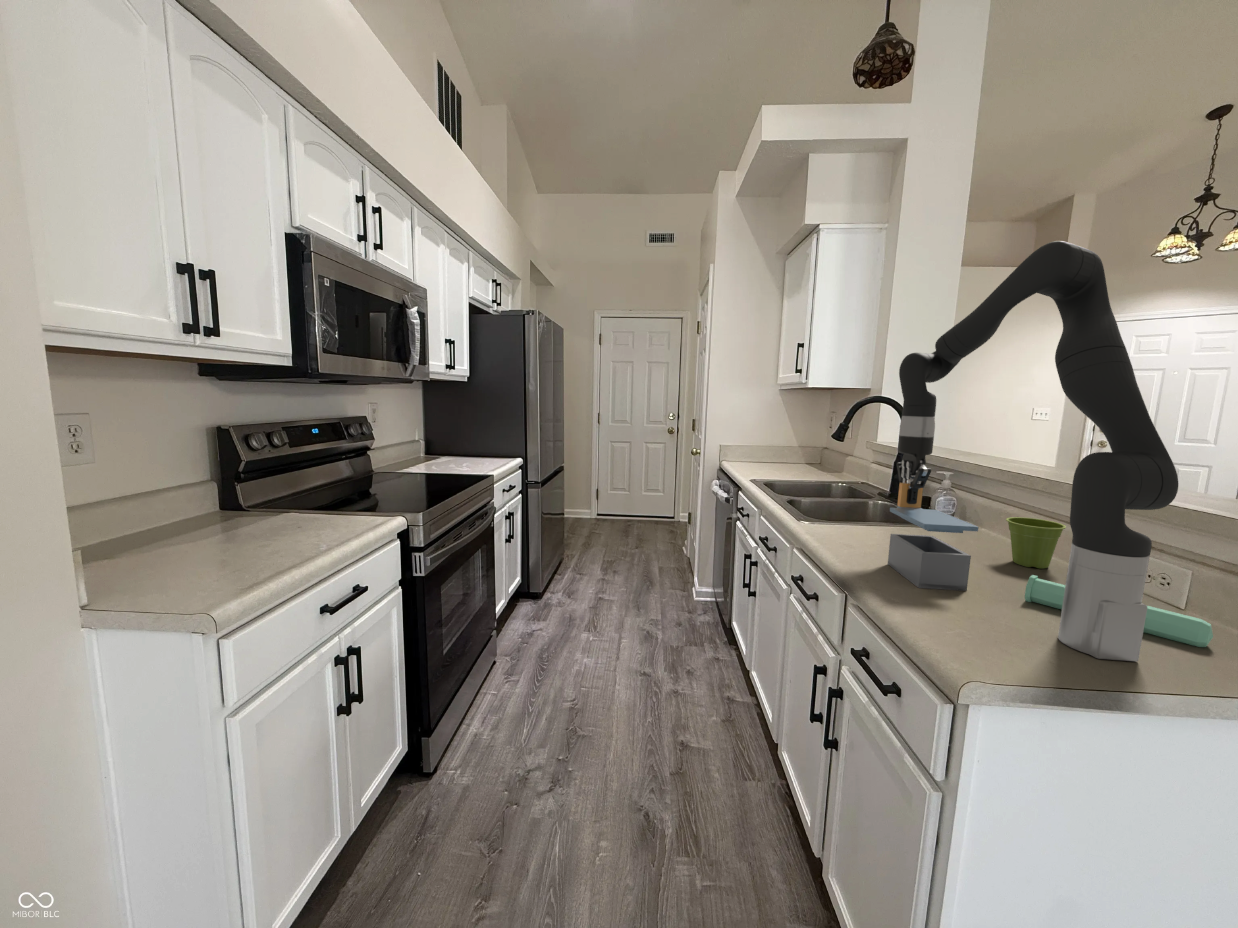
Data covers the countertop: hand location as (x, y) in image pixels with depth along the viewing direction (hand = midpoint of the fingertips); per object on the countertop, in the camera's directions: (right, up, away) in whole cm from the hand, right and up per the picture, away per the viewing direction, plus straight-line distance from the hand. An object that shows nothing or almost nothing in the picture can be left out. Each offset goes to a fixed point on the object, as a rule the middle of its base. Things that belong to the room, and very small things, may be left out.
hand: (909, 502), depth 125 cm
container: (+20, -21, -31) cm, 42 cm away
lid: (-1, -4, -9) cm, 10 cm away
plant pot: (+33, -17, +3) cm, 37 cm away
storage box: (-2, -17, -9) cm, 19 cm away
